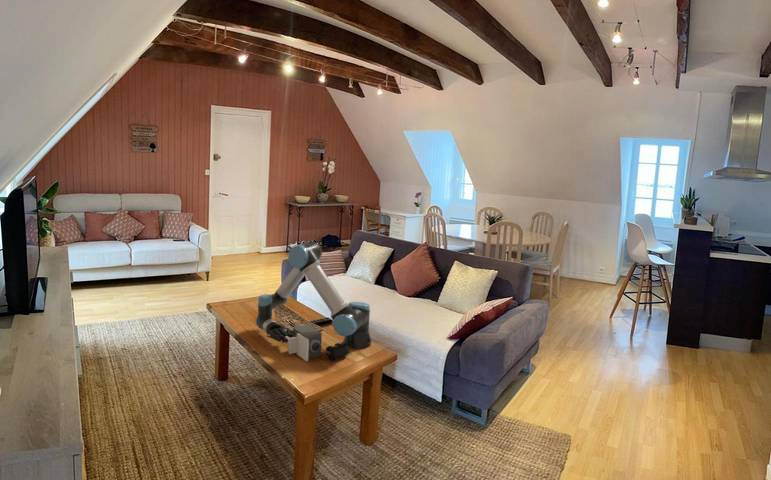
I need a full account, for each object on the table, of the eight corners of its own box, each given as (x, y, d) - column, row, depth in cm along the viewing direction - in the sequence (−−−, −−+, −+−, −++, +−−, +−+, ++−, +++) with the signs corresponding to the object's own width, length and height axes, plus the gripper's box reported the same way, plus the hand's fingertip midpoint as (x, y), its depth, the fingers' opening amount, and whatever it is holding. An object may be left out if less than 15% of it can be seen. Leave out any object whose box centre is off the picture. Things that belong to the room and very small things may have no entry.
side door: (298, 353, 250) (299, 333, 248) (308, 360, 242) (308, 339, 240) (288, 356, 246) (289, 335, 244) (297, 363, 239) (298, 342, 237)
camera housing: (307, 345, 262) (308, 324, 259) (323, 356, 249) (323, 334, 247) (292, 349, 256) (292, 327, 254) (307, 360, 243) (308, 337, 241)
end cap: (334, 363, 242) (335, 350, 241) (324, 359, 247) (325, 346, 246) (348, 357, 250) (349, 345, 249) (339, 353, 254) (339, 341, 253)
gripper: (283, 332, 270) (303, 347, 251) (260, 337, 262) (280, 352, 243) (283, 319, 268) (303, 333, 250) (261, 323, 260) (280, 338, 242)
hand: (292, 342), depth 247 cm, fingers closed
